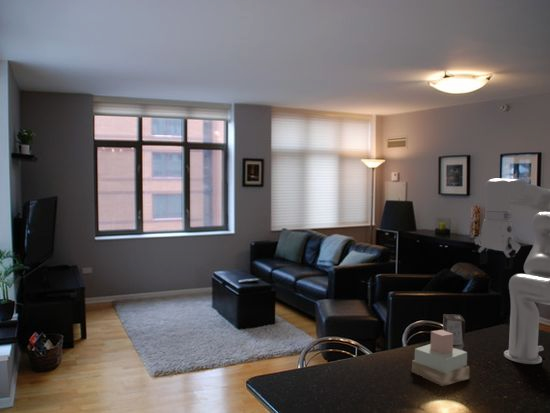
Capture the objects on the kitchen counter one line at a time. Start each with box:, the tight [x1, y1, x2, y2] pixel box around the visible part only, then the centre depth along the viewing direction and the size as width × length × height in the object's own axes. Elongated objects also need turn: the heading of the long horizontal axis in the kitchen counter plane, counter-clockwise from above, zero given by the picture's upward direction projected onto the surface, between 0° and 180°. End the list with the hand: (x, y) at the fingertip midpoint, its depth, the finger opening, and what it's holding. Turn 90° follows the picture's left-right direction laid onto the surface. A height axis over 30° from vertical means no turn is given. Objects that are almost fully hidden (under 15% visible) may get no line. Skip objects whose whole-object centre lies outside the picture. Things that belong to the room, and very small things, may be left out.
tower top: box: [413, 343, 468, 373], centre depth 163 cm, size 12×12×4 cm
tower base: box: [411, 359, 471, 387], centre depth 163 cm, size 13×13×4 cm
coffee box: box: [442, 313, 466, 351], centre depth 176 cm, size 9×6×16 cm
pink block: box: [430, 329, 453, 354], centre depth 163 cm, size 5×5×6 cm
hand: (495, 266), depth 165 cm, fingers open, 9 cm apart
